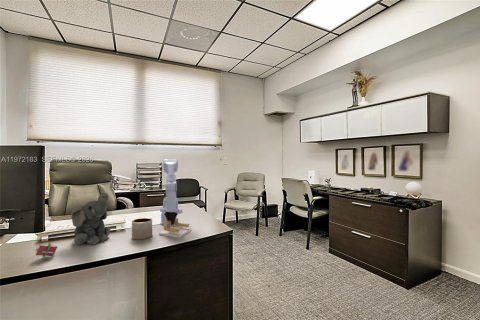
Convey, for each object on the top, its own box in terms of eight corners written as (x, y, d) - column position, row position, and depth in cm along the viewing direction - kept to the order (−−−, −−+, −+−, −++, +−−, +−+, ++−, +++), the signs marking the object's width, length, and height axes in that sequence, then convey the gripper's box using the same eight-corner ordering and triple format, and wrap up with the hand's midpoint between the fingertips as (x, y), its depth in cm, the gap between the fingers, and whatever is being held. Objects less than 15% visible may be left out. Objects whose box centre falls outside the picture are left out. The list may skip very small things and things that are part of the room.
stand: (190, 231, 143) (190, 226, 143) (179, 237, 131) (179, 232, 131) (171, 228, 147) (171, 224, 147) (159, 234, 136) (159, 230, 136)
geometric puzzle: (59, 247, 110) (46, 237, 107) (63, 251, 106) (49, 240, 102) (43, 260, 106) (29, 250, 102) (47, 265, 102) (32, 254, 98)
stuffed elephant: (107, 245, 119) (107, 193, 119) (61, 248, 116) (61, 194, 115) (119, 233, 138) (119, 188, 138) (80, 235, 134) (80, 188, 134)
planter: (127, 238, 130) (127, 221, 130) (143, 232, 140) (143, 216, 140) (140, 241, 125) (140, 223, 125) (156, 235, 135) (156, 219, 135)
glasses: (189, 226, 143) (189, 219, 143) (178, 232, 132) (178, 224, 132) (175, 224, 146) (176, 217, 146) (163, 230, 135) (163, 222, 135)
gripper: (156, 202, 139) (156, 225, 139) (177, 204, 134) (177, 227, 134) (164, 200, 145) (164, 222, 146) (184, 202, 141) (184, 224, 141)
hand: (171, 224), depth 140 cm, fingers closed on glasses, 2 cm apart
